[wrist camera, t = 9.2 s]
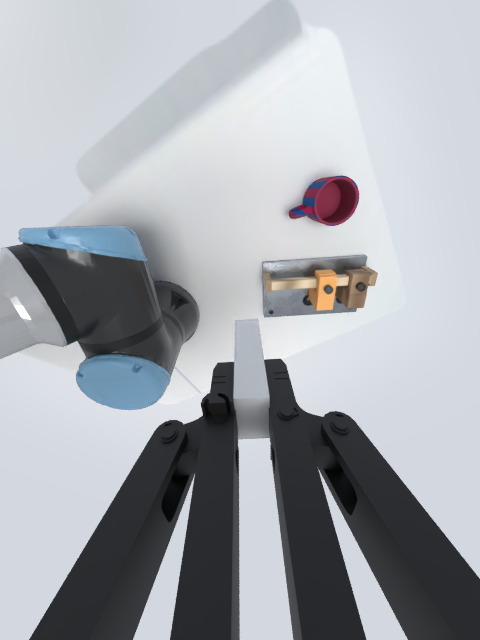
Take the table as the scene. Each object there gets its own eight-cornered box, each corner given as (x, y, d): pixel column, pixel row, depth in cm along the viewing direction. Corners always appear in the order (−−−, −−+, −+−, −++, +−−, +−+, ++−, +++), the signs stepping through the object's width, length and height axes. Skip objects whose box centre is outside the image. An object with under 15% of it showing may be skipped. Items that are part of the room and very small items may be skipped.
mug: (341, 216, 42) (358, 220, 36) (286, 228, 43) (294, 234, 37) (341, 173, 38) (360, 170, 33) (282, 187, 39) (290, 186, 33)
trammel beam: (264, 305, 49) (267, 321, 43) (263, 270, 45) (267, 282, 39) (358, 299, 48) (375, 314, 42) (365, 263, 45) (385, 274, 39)
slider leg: (307, 302, 49) (317, 318, 43) (311, 266, 45) (322, 277, 39) (322, 302, 48) (333, 317, 43) (326, 265, 45) (340, 276, 39)
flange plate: (263, 314, 52) (264, 317, 50) (262, 262, 46) (263, 263, 45) (353, 309, 51) (356, 311, 50) (364, 254, 45) (367, 256, 44)
